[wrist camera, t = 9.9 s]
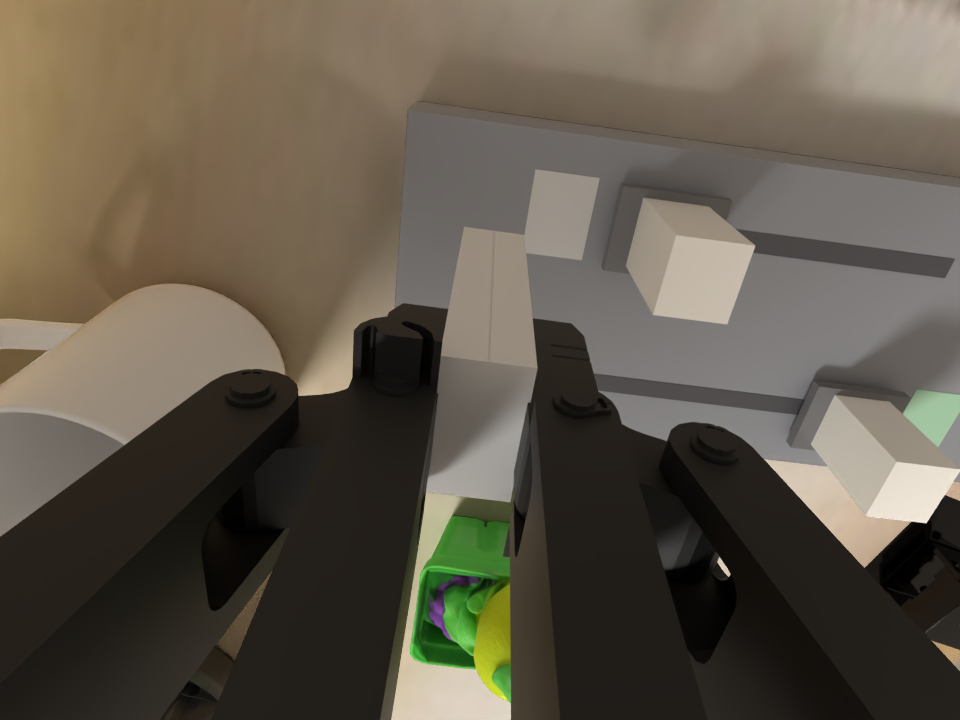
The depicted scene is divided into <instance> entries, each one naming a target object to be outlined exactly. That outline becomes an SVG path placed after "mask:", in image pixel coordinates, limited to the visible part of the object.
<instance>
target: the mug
mask: <svg viewBox="0 0 960 720" xmlns="http://www.w3.org/2000/svg"><path fill="white" fill-rule="evenodd" d="M0 349H28V350H48V351H46V352H45V353H43V354H42V355H41V356H39V357H38V358H37V359H35V360H34V361H32V362H31V363H30V364H28V365H27V366H25V367H24V368H23V369H21V370H20V371H19V372H17V373H16V374H14V375H13V376H12V377H10V378H9V379H8V380H6V381H5V382H3V383H2V384H1V385H0V536H2V535H3V534H4V533H6V532H7V531H9V530H10V529H11V528H13V527H14V526H15V525H17V524H18V523H19V522H21V521H22V520H23V519H25V518H26V517H28V516H29V515H30V514H32V513H33V512H34V511H36V510H37V509H38V508H40V507H41V506H42V505H44V504H45V503H47V502H48V501H49V500H51V499H52V498H53V497H55V496H56V495H57V494H59V493H60V492H61V491H63V490H64V489H66V488H67V487H68V486H70V485H71V484H72V483H74V482H75V481H76V480H78V479H79V478H80V477H82V476H83V475H85V474H86V473H87V472H89V471H90V470H91V469H93V468H94V467H95V466H97V465H98V464H99V463H101V462H102V461H104V460H105V459H106V458H108V457H109V456H110V455H112V454H113V453H114V452H116V451H117V450H118V449H120V448H121V447H123V446H124V445H125V444H127V443H128V442H129V441H131V440H132V439H133V438H135V437H136V436H137V435H139V434H140V433H142V432H143V431H144V430H146V429H147V428H148V427H150V426H151V425H152V424H154V423H155V422H156V421H158V420H159V419H161V418H162V417H163V416H165V415H166V414H167V413H169V412H170V411H171V410H173V409H174V408H175V407H177V406H178V405H180V404H181V403H182V402H184V401H185V400H186V399H188V398H189V397H190V396H192V395H193V394H194V393H196V392H197V391H199V390H200V389H201V388H203V387H204V386H205V385H207V384H208V383H209V382H211V381H213V380H215V379H217V378H218V377H220V376H222V375H224V374H228V373H232V372H236V371H240V370H245V369H251V370H253V369H263V370H268V371H275V372H278V373H281V374H283V375H285V376H286V373H285V367H284V363H283V359H282V356H281V354H280V351H279V349H278V347H277V345H276V343H275V341H274V339H273V338H272V336H271V335H270V334H269V332H268V331H267V329H266V328H265V327H264V326H263V325H262V323H261V322H260V321H259V320H258V319H257V318H256V317H255V316H254V315H252V314H251V313H250V312H249V311H248V310H246V309H245V308H244V307H242V306H241V305H239V304H238V303H236V302H235V301H233V300H231V299H229V298H228V297H226V296H224V295H221V294H219V293H217V292H214V291H212V290H209V289H206V288H202V287H198V286H193V285H187V284H175V283H172V284H158V285H152V286H147V287H143V288H140V289H137V290H135V291H132V292H130V293H128V294H126V295H124V296H123V297H121V298H120V299H118V300H117V301H115V302H114V303H113V304H111V305H110V306H108V307H107V308H106V309H104V310H103V311H102V312H100V313H99V314H97V315H96V316H95V317H93V318H92V319H90V320H89V321H88V322H86V323H85V324H78V323H61V322H48V321H35V320H22V319H0Z"/></svg>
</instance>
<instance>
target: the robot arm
mask: <svg viewBox="0 0 960 720" xmlns="http://www.w3.org/2000/svg"><path fill="white" fill-rule="evenodd" d="M513 486H514V504H513V509H512V514H511V519H510V524H509V529H508V533H507V538H506V543H505V548H504V553H503V557H509V556H510V640H511V720H960V671H959V670H958V669H957V668H956V667H955V666H954V665H953V664H952V662H951V661H950V660H949V659H948V658H947V657H946V656H945V655H944V654H943V653H942V652H941V651H940V649H939V648H938V647H937V646H936V645H935V644H934V643H933V642H932V641H931V640H930V639H929V638H928V637H927V635H926V634H925V633H924V632H923V631H922V630H921V629H920V628H919V627H918V626H917V625H916V624H915V622H914V621H913V620H912V619H911V618H910V617H909V616H908V615H907V614H906V613H905V612H904V611H903V609H902V608H901V607H900V606H899V605H898V604H897V603H896V602H895V601H894V600H893V599H892V598H891V596H890V595H889V594H888V593H887V592H886V591H885V590H884V589H883V588H882V587H881V586H880V585H879V583H878V582H877V581H876V580H875V579H874V578H873V577H872V576H871V575H870V574H869V573H868V572H867V570H866V569H865V568H864V567H863V566H862V565H861V564H860V563H859V562H858V561H857V560H856V559H855V557H854V556H853V555H852V554H851V553H850V552H849V551H848V550H847V549H846V548H845V547H844V546H843V544H842V543H841V542H840V541H839V540H838V539H837V538H836V537H835V536H834V535H833V534H832V533H831V531H830V530H829V529H828V528H827V527H826V526H825V525H824V524H823V523H822V522H821V521H820V520H819V519H818V517H817V516H816V515H815V514H814V513H813V512H812V511H811V510H810V509H809V508H808V507H807V506H806V504H805V503H804V502H803V501H802V500H801V499H800V498H799V497H798V496H797V495H796V494H795V493H794V491H793V490H792V489H791V488H790V487H789V486H788V485H787V484H786V483H785V482H784V481H783V480H782V478H781V477H780V476H779V475H778V474H777V473H776V472H775V471H774V470H773V469H772V468H771V467H770V465H769V464H768V463H767V462H766V461H765V460H764V459H763V458H762V457H761V456H760V455H759V454H758V452H757V451H756V450H755V449H754V448H753V447H752V446H751V445H749V444H748V443H747V442H746V441H745V440H743V439H742V438H741V437H739V436H737V435H736V434H734V433H732V432H730V431H728V430H727V429H725V428H722V427H720V426H715V425H713V424H709V423H698V422H688V423H682V424H678V425H677V426H675V427H674V428H673V429H671V431H670V433H669V436H668V439H667V441H665V440H662V439H659V438H656V437H653V436H650V435H646V434H643V433H641V432H638V431H636V430H633V429H630V428H628V427H627V426H625V425H623V424H622V422H621V419H620V415H619V412H618V410H617V408H616V407H615V405H614V403H613V402H612V401H611V400H610V399H608V398H607V397H606V396H605V395H603V394H602V393H600V392H598V388H597V384H596V380H595V377H594V373H593V369H592V365H591V362H590V357H589V353H588V351H587V345H586V341H585V338H584V335H583V334H582V333H581V332H580V331H579V330H578V329H577V328H576V327H575V326H574V325H573V324H572V323H565V322H558V321H550V320H542V319H535V318H532V307H531V297H530V287H529V277H528V267H527V257H526V247H525V237H524V235H521V234H514V233H507V232H499V231H492V230H485V229H477V228H470V227H464V230H463V235H462V240H461V246H460V251H459V256H458V261H457V267H456V272H455V277H454V283H453V288H452V293H451V298H450V304H449V309H445V308H437V307H429V306H422V305H414V304H407V303H402V304H401V305H399V306H398V307H396V308H395V309H393V310H392V311H390V312H389V314H388V316H387V317H381V318H374V319H371V320H368V321H366V322H363V323H361V324H360V325H359V326H358V327H357V328H356V329H355V330H354V345H353V378H352V380H351V383H350V385H349V388H347V389H345V390H342V391H339V392H335V393H330V394H322V395H310V396H298V388H297V385H296V383H295V382H294V381H293V380H292V379H291V378H290V377H288V376H285V375H283V374H281V373H278V372H275V371H268V370H263V369H253V370H251V369H245V370H240V371H236V372H232V373H228V374H224V375H222V376H220V377H218V378H217V379H215V380H213V381H211V382H209V383H208V384H207V385H205V386H204V387H203V388H201V389H200V390H199V391H197V392H196V393H194V394H193V395H192V396H190V397H189V398H188V399H186V400H185V401H184V402H182V403H181V404H180V405H178V406H177V407H175V408H174V409H173V410H171V411H170V412H169V413H167V414H166V415H165V416H163V417H162V418H161V419H159V420H158V421H156V422H155V423H154V424H152V425H151V426H150V427H148V428H147V429H146V430H144V431H143V432H142V433H140V434H139V435H137V436H136V437H135V438H133V439H132V440H131V441H129V442H128V443H127V444H125V445H124V446H123V447H121V448H120V449H118V450H117V451H116V452H114V453H113V454H112V455H110V456H109V457H108V458H106V459H105V460H104V461H102V462H101V463H99V464H98V465H97V466H95V467H94V468H93V469H91V470H90V471H89V472H87V473H86V474H85V475H83V476H82V477H80V478H79V479H78V480H76V481H75V482H74V483H72V484H71V485H70V486H68V487H67V488H66V489H64V490H63V491H61V492H60V493H59V494H57V495H56V496H55V497H53V498H52V499H51V500H49V501H48V502H47V503H45V504H44V505H42V506H41V507H40V508H38V509H37V510H36V511H34V512H33V513H32V514H30V515H29V516H28V517H26V518H25V519H23V520H22V521H21V522H19V523H18V524H17V525H15V526H14V527H13V528H11V529H10V530H9V531H7V532H6V533H4V534H3V535H2V536H0V720H391V717H392V710H393V704H394V698H395V691H396V685H397V678H398V672H399V666H400V659H401V653H402V647H403V640H404V634H405V628H406V621H407V615H408V609H409V602H410V596H411V590H412V583H413V577H414V570H415V564H416V558H417V551H418V545H419V539H420V532H421V526H422V520H423V513H424V504H425V495H426V492H428V493H437V494H445V495H453V496H461V497H470V498H478V499H486V500H494V501H503V502H510V501H511V496H512V491H513ZM719 556H720V558H721V559H722V561H723V562H724V564H725V565H726V567H727V568H728V570H729V572H730V574H731V575H730V576H729V577H728V576H727V575H726V574H725V573H724V572H723V570H722V569H721V567H720V566H719V564H718V563H717V561H718V559H719ZM272 570H273V571H272ZM271 571H272V573H271V575H270V578H269V580H268V583H267V585H266V588H265V590H264V592H263V595H262V597H261V600H260V602H259V604H258V607H257V609H256V612H255V614H254V616H253V619H252V621H251V624H250V626H249V628H248V631H247V633H246V636H245V638H244V640H243V643H242V645H241V648H240V650H239V653H238V655H237V657H236V660H235V662H234V663H233V662H232V661H231V660H230V659H229V658H228V657H227V656H226V655H225V654H223V653H222V652H221V651H219V650H218V649H217V648H215V645H216V644H217V643H218V641H219V640H220V639H221V637H222V636H223V635H224V633H225V632H226V631H227V629H228V628H229V627H230V625H231V624H232V623H233V621H234V620H235V619H236V617H237V616H238V615H239V613H240V612H241V611H242V609H243V608H244V607H245V605H246V604H247V603H248V601H249V600H250V599H251V597H252V596H253V595H254V593H255V592H256V591H257V589H258V588H259V587H260V585H261V584H262V583H263V581H264V580H265V579H266V577H267V576H268V575H269V574H270V572H271Z"/></svg>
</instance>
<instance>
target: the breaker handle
mask: <svg viewBox="0 0 960 720" xmlns="http://www.w3.org/2000/svg"><path fill="white" fill-rule="evenodd" d="M910 399H911V398H910V397H909V396H908V395H907V394H906V393H905V392H902V391H894V390H886V389H878V388H870V387H862V386H854V385H846V384H838V383H830V382H822V381H813V383H812V385H811V388H810V390H809V392H808V394H807V396H806V399H805V401H804V403H803V405H802V407H801V409H800V412H799V414H798V416H797V418H796V420H795V422H794V425H793V427H792V429H791V431H790V433H789V436H788V438H787V440H786V442H787V443H788V444H789V446H790V447H791V448H798V449H806V450H814V451H816V452H817V453H818V454H819V456H820V457H821V458H822V460H823V461H824V462H825V464H826V465H827V466H828V468H829V469H830V470H831V472H832V473H833V474H834V476H835V477H836V478H837V480H838V481H839V482H840V483H841V485H842V486H843V487H844V489H845V490H846V491H847V493H848V494H849V495H850V497H851V498H852V499H853V501H854V502H855V503H856V505H857V506H858V507H859V509H860V510H861V511H862V512H863V514H864V515H865V516H868V517H877V518H885V519H894V520H903V521H911V522H920V523H927V521H928V520H929V518H930V517H931V515H932V514H933V512H934V511H935V509H936V508H937V506H938V505H939V503H940V501H941V500H942V498H943V497H944V495H945V494H946V492H947V491H948V489H949V488H950V486H951V485H952V483H953V481H954V480H955V478H956V477H957V475H958V474H959V472H960V468H959V467H958V466H957V465H956V464H955V463H954V462H953V461H952V460H951V459H949V458H948V457H947V456H946V455H945V454H944V453H943V452H942V451H941V450H940V449H939V448H938V447H937V446H936V445H935V444H934V443H933V442H932V441H931V440H929V439H928V438H927V437H926V436H925V435H924V434H923V433H922V432H921V431H920V430H919V429H918V428H917V427H916V426H915V425H914V424H913V423H912V422H910V421H909V420H908V419H907V418H906V417H905V416H904V415H903V414H902V413H903V412H904V410H905V408H906V406H907V404H908V403H909V401H910Z"/></svg>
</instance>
